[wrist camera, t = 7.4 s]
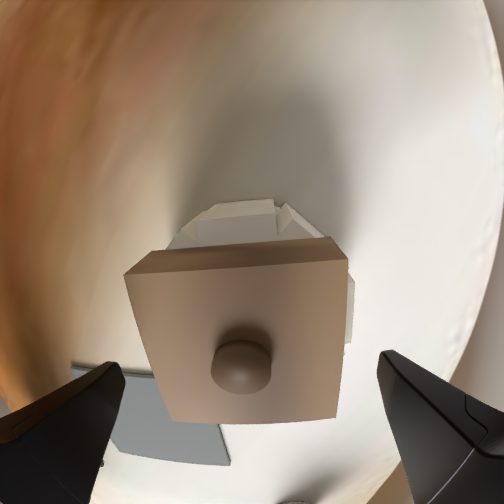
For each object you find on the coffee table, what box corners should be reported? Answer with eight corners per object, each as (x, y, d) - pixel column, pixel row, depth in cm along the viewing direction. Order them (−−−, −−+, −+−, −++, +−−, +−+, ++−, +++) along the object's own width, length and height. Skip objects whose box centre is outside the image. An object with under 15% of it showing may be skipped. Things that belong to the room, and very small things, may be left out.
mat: (120, 449, 23) (119, 451, 23) (72, 365, 20) (69, 368, 19) (230, 462, 22) (230, 465, 22) (204, 377, 19) (203, 380, 18)
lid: (184, 384, 13) (169, 430, 10) (151, 251, 11) (114, 281, 8) (327, 378, 13) (338, 427, 10) (330, 236, 11) (353, 265, 8)
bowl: (190, 348, 18) (172, 396, 14) (162, 210, 15) (125, 229, 11) (331, 340, 17) (345, 389, 13) (330, 194, 15) (354, 207, 10)
